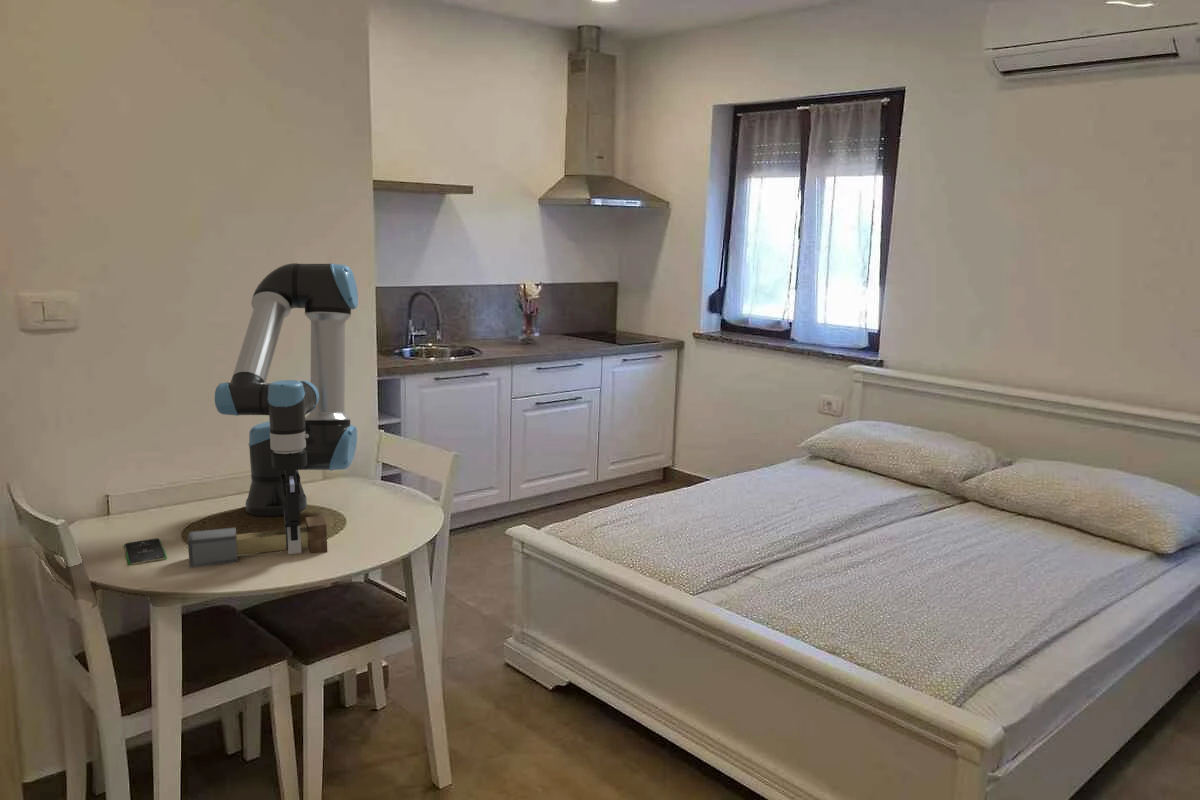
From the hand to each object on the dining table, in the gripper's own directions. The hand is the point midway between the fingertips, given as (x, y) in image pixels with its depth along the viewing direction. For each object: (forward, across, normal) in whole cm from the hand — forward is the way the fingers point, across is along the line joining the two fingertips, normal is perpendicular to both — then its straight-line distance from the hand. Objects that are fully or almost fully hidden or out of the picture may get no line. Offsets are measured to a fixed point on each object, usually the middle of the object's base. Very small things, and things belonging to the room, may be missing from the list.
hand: (293, 547), depth 197 cm
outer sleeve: (+1, 0, +17) cm, 17 cm away
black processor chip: (+1, +10, +31) cm, 33 cm away
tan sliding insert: (0, 0, +4) cm, 4 cm away
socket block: (+1, 0, -5) cm, 5 cm away
